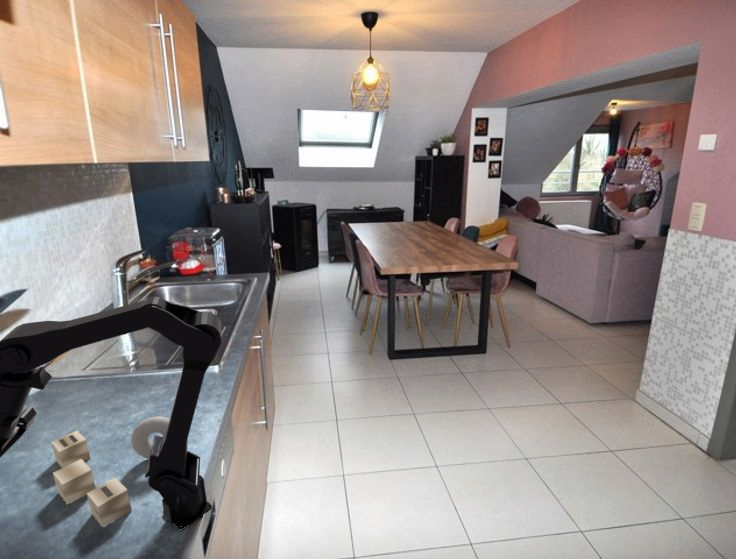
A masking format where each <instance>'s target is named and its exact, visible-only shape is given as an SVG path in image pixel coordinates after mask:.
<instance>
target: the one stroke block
mask: <svg viewBox="0 0 736 559" xmlns="http://www.w3.org/2000/svg"><path fill="white" fill-rule="evenodd" d="M86 496H87V501H88V504H89V509H90V512H91V513H92V514H93V516H94V517H95V518H96V519H97V521H98V522H99V523H100V524H101V525H100V524H99V523H98V522H97V521H96V522H97V523H98V524H99V525H100V526H102V527H103V526H105V525H107V524H109V523H111V522H112V521H114V520H116V519H118V518H119V519H121V518H123V517H124V516H125V514H126V515H127V514H129V513H130V511H131V512H132V510H133V509H132V506H131V501H130V496H129V491H128V488H126V487H125V486H124V485H123V484H122V482H120V481H119V479H117V477H113V478H112V479H110V480H109V481H107V482H105V483H103V484H101V485H100V486H97V487H96V488H95V489H94V490H92V491H90V492H88V493H87V495H86ZM128 512H129V513H128ZM92 514H91V515H92ZM123 515H124V516H123ZM93 516H92V517H93ZM122 516H123V517H122ZM94 517H93V518H94ZM120 517H121V518H120ZM95 518H94V519H95ZM96 519H95V520H96ZM119 519H118V520H119ZM116 521H117V520H116ZM111 524H112V523H111ZM102 527H101V528H102Z"/></svg>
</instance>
